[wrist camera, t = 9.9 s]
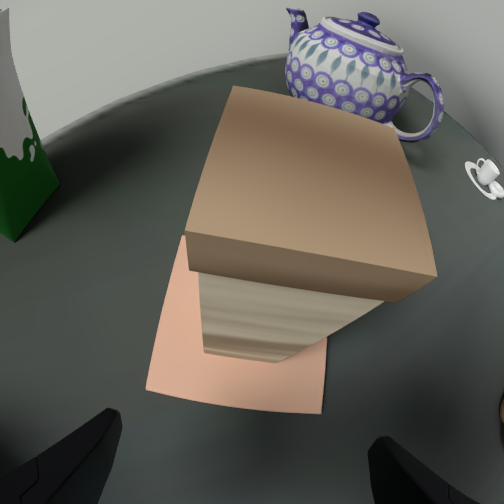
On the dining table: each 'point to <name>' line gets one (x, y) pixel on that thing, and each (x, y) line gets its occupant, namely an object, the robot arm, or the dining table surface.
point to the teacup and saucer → (486, 178)
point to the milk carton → (19, 149)
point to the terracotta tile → (226, 360)
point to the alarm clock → (502, 411)
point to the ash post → (300, 225)
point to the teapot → (354, 70)
